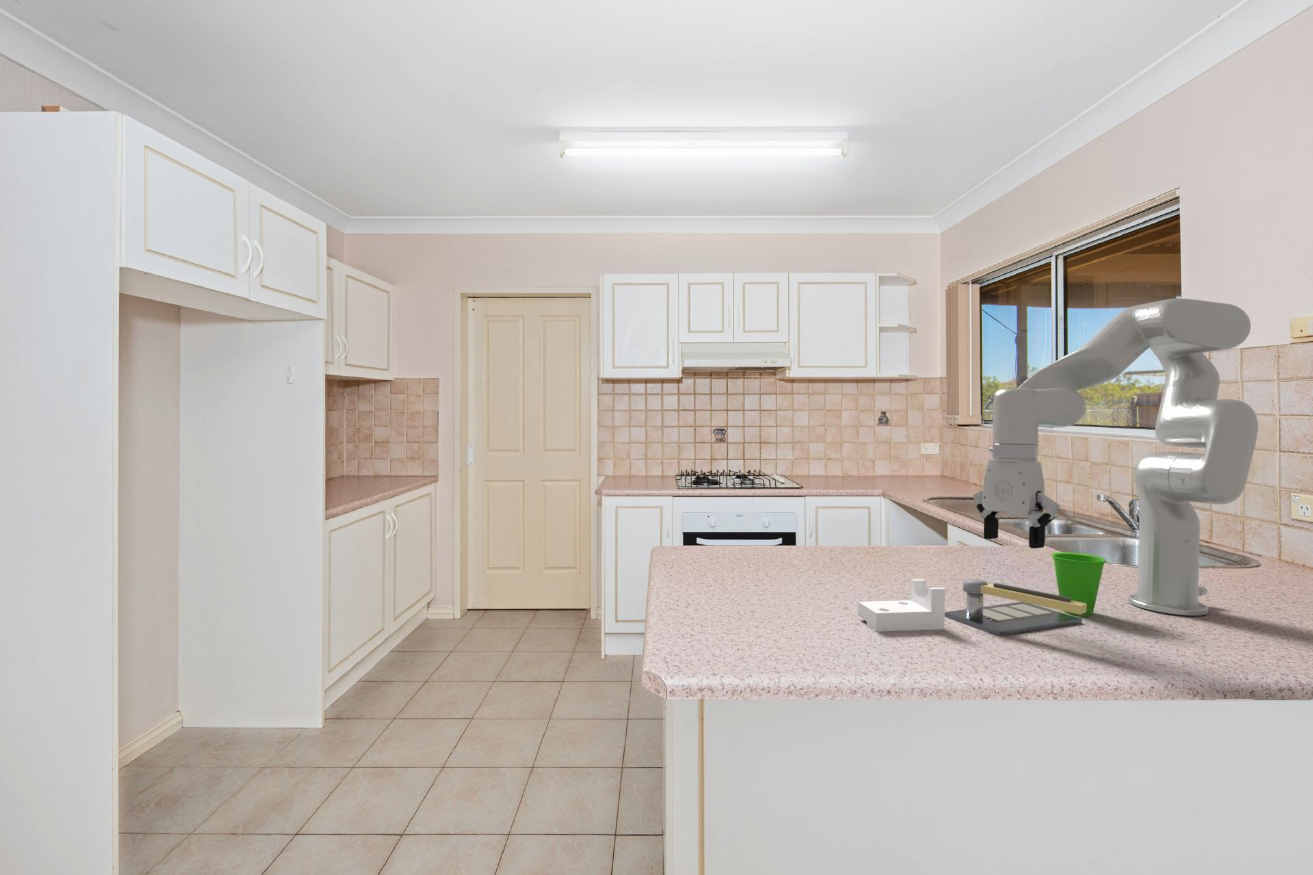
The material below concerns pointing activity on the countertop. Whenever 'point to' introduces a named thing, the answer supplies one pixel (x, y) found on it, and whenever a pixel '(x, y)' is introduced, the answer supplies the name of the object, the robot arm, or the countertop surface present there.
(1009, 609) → the grey base plate
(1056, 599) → the swing arm
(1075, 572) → the cup
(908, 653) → the countertop surface
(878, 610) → the bracket
